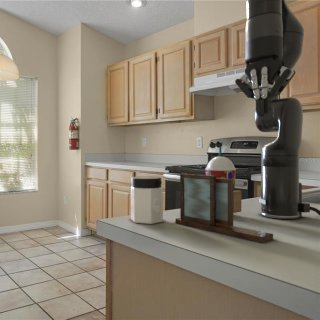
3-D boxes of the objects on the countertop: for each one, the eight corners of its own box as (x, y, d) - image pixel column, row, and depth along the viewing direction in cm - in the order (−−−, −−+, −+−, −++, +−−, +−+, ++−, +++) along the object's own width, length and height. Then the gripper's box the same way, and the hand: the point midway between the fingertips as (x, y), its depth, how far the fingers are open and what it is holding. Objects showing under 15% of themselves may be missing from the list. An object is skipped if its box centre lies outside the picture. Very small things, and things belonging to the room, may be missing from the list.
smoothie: (242, 216, 95) (242, 146, 94) (217, 218, 93) (217, 147, 92) (223, 211, 103) (223, 146, 102) (199, 212, 101) (199, 147, 100)
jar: (145, 225, 86) (145, 179, 85) (124, 220, 92) (124, 177, 92) (169, 221, 91) (168, 177, 90) (147, 216, 97) (147, 175, 97)
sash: (241, 223, 79) (241, 178, 79) (231, 226, 77) (231, 179, 77) (208, 217, 87) (208, 176, 87) (198, 219, 85) (198, 176, 84)
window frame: (273, 239, 71) (273, 178, 71) (262, 242, 69) (262, 179, 68) (186, 220, 90) (186, 172, 90) (175, 223, 88) (174, 173, 88)
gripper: (303, 33, 71) (303, 113, 72) (244, 49, 82) (244, 119, 83) (286, 27, 67) (286, 112, 68) (226, 44, 78) (227, 118, 79)
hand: (263, 115), depth 76 cm, fingers closed
